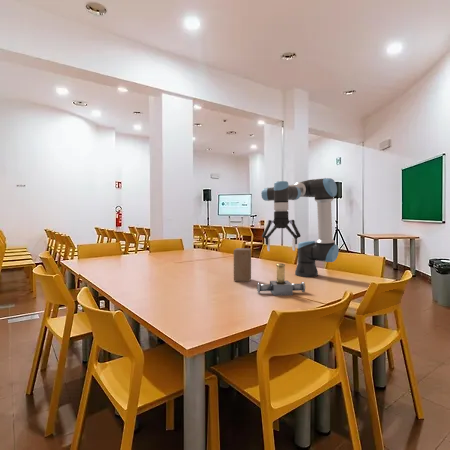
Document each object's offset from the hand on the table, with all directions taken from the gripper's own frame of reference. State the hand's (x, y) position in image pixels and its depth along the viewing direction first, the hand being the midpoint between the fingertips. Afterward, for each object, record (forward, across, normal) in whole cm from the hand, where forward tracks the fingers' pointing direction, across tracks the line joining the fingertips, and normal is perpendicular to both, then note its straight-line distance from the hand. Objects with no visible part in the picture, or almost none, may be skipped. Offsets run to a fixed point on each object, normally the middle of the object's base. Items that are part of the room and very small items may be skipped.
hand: (281, 250), depth 165 cm
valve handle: (+21, 0, 0) cm, 21 cm away
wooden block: (+23, +17, -32) cm, 43 cm away
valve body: (+23, 0, 0) cm, 23 cm away
